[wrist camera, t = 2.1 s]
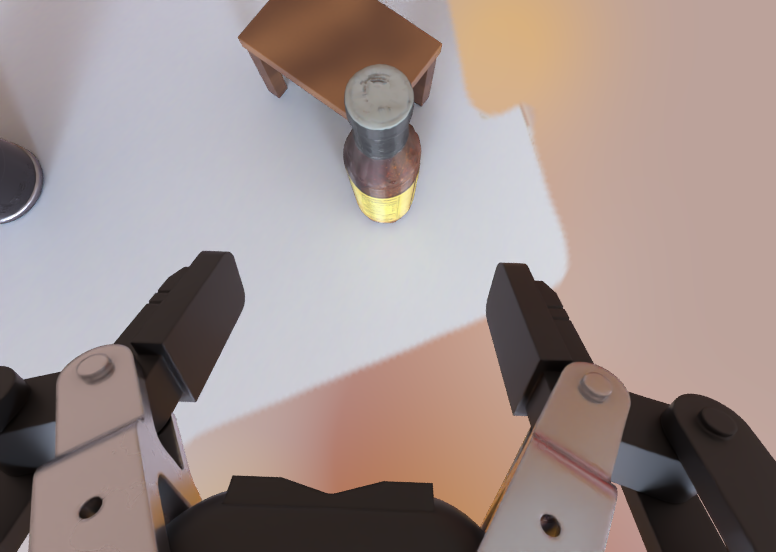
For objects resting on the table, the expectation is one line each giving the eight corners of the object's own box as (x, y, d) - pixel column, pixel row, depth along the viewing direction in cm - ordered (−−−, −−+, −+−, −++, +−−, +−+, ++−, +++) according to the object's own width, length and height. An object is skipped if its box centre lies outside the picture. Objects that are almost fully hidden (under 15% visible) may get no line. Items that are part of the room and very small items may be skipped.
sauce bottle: (374, 163, 40) (363, 15, 20) (422, 189, 39) (458, 66, 20) (345, 211, 39) (304, 108, 19) (393, 238, 39) (401, 161, 19)
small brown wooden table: (266, 91, 41) (237, 37, 33) (323, 22, 42) (308, -47, 34) (376, 168, 40) (373, 132, 32) (431, 96, 41) (442, 43, 33)
